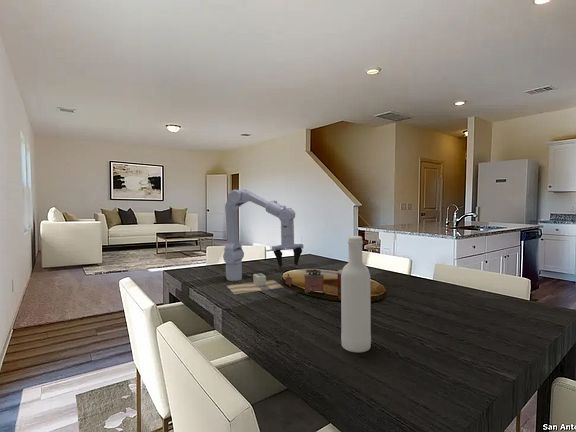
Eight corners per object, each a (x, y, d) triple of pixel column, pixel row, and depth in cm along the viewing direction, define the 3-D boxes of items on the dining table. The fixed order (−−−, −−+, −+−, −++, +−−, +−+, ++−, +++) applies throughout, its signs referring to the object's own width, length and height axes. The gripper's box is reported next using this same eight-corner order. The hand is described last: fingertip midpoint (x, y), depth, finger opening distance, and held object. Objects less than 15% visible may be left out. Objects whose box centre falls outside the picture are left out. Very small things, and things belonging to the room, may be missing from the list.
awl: (284, 285, 150) (284, 273, 150) (290, 284, 151) (290, 272, 151) (286, 287, 147) (286, 274, 147) (293, 286, 149) (292, 274, 148)
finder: (253, 282, 151) (253, 273, 151) (261, 281, 153) (261, 272, 152) (257, 286, 146) (257, 276, 145) (266, 285, 147) (265, 275, 147)
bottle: (376, 345, 91) (376, 236, 89) (361, 356, 85) (361, 239, 83) (350, 337, 96) (350, 234, 94) (335, 346, 90) (334, 237, 88)
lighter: (323, 291, 141) (323, 268, 140) (323, 293, 137) (323, 270, 136) (304, 291, 141) (304, 268, 141) (304, 293, 138) (304, 269, 137)
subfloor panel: (226, 288, 148) (226, 285, 148) (272, 282, 157) (272, 279, 156) (234, 297, 135) (234, 294, 135) (284, 289, 144) (284, 287, 144)
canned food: (334, 300, 129) (334, 272, 128) (341, 294, 136) (341, 268, 135) (354, 303, 125) (354, 274, 124) (360, 297, 132) (359, 269, 131)
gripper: (275, 237, 141) (276, 269, 142) (306, 235, 147) (306, 265, 148) (269, 235, 148) (270, 266, 149) (299, 233, 153) (300, 262, 154)
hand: (288, 265), depth 149 cm, fingers open, 7 cm apart
